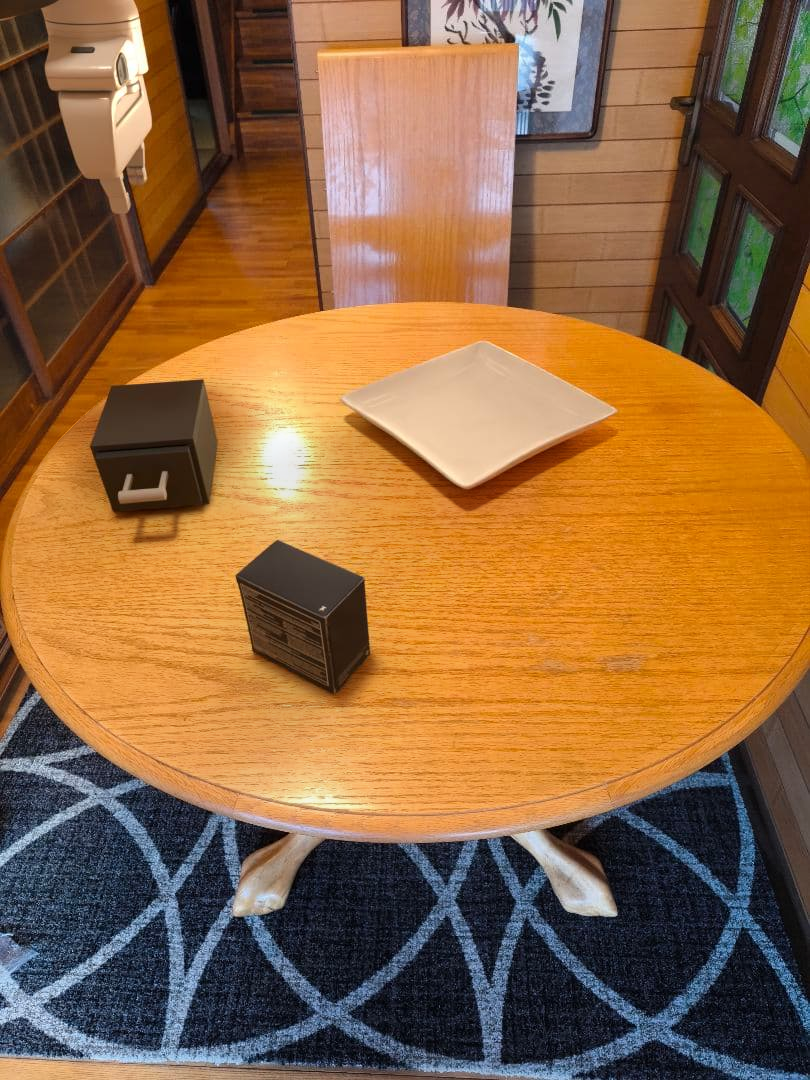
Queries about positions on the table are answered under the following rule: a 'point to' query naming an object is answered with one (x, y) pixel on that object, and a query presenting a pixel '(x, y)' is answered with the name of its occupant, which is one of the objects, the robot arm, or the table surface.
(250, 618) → the small box
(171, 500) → the drawer
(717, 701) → the table surface
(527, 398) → the square plate
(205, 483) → the cabinet
